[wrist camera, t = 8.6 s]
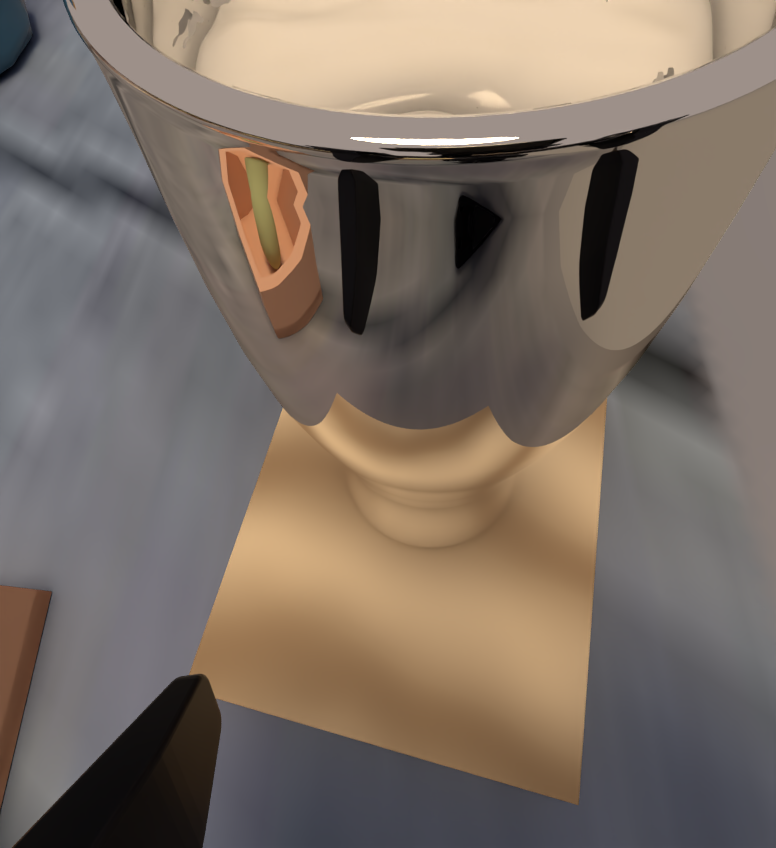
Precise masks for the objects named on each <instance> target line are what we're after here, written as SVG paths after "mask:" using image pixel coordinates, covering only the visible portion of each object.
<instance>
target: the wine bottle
mask: <svg viewBox="0 0 776 848" xmlns="http://www.w3.org/2000/svg"><path fill="white" fill-rule="evenodd" d="M32 35H33V34H32V29H31V25H30V21H29V16H28V12H27V8H26V4H25V0H0V73H2V72H3V71H5V70H7V69H8V68H10V67H11V66H13V65H14V63H15V61H16V60H17V58H18V57H19V55H20V54H21V52H22V51H23V49H24V48H25V46H26V45H27V43H28V42H29V40H30V39H31V37H32Z"/></svg>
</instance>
